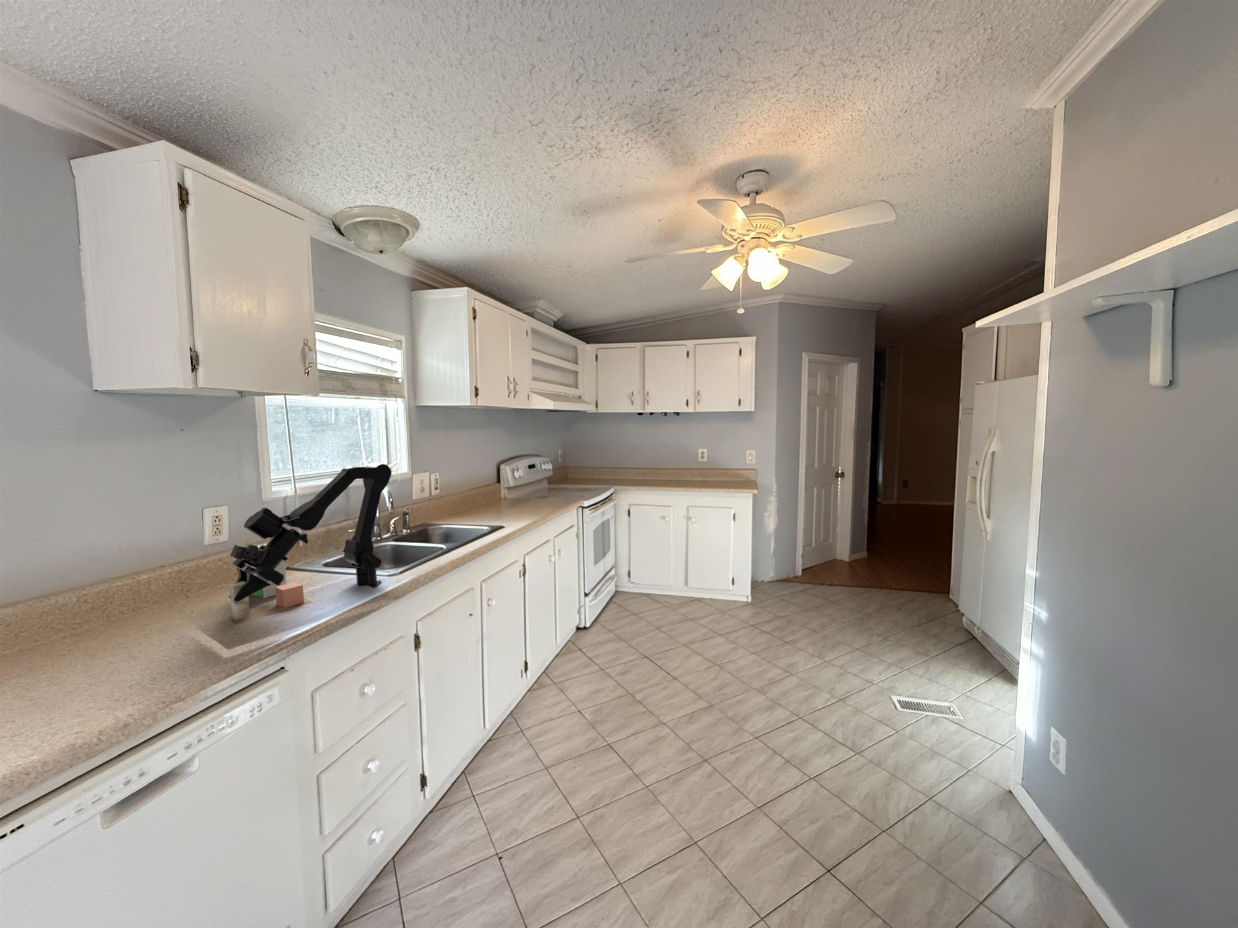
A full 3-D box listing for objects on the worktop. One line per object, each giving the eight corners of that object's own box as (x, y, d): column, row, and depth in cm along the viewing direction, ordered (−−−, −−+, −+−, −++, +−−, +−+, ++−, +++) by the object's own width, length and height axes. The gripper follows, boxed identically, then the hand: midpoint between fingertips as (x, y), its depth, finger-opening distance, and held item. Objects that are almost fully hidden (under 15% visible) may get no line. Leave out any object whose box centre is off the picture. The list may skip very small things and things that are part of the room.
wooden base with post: (299, 599, 143) (296, 566, 142) (313, 605, 138) (310, 570, 137) (223, 621, 129) (220, 583, 128) (236, 628, 123) (232, 589, 123)
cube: (296, 598, 141) (294, 581, 140) (304, 602, 138) (302, 584, 138) (276, 604, 137) (275, 587, 136) (284, 607, 134) (282, 590, 133)
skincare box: (250, 598, 146) (245, 547, 145) (274, 591, 152) (270, 542, 151) (265, 602, 142) (261, 550, 141) (289, 595, 148) (285, 545, 147)
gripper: (238, 528, 135) (191, 578, 127) (266, 536, 124) (216, 591, 116) (273, 549, 142) (230, 598, 134) (302, 558, 131) (257, 612, 123)
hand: (233, 599), depth 126 cm, fingers closed on wooden base with post, 3 cm apart
